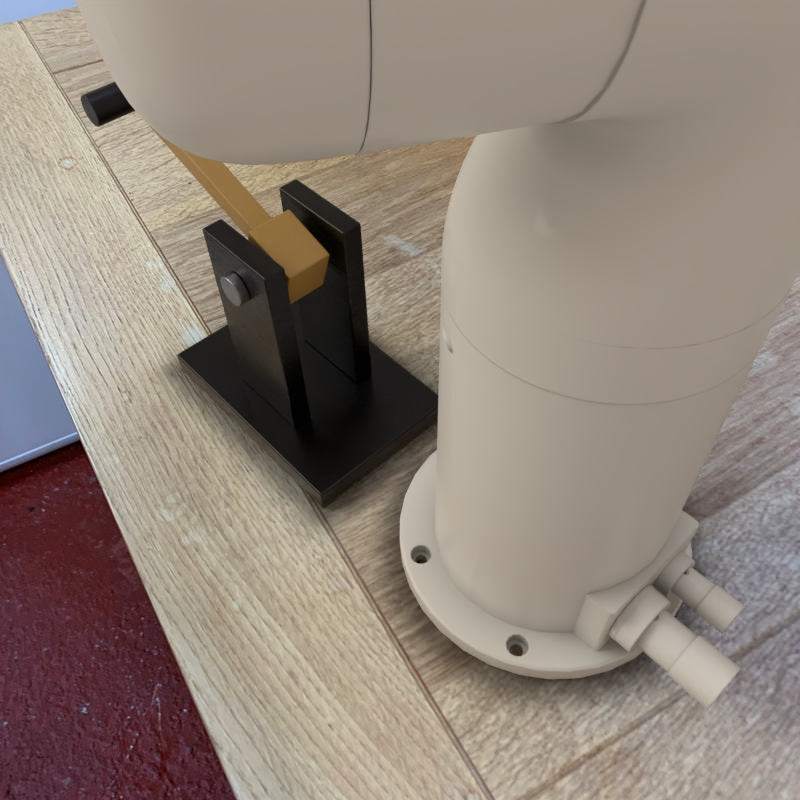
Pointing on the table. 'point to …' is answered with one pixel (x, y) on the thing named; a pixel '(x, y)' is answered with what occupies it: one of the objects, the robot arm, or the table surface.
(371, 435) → the bracket
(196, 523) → the table surface
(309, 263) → the lever
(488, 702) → the table surface
